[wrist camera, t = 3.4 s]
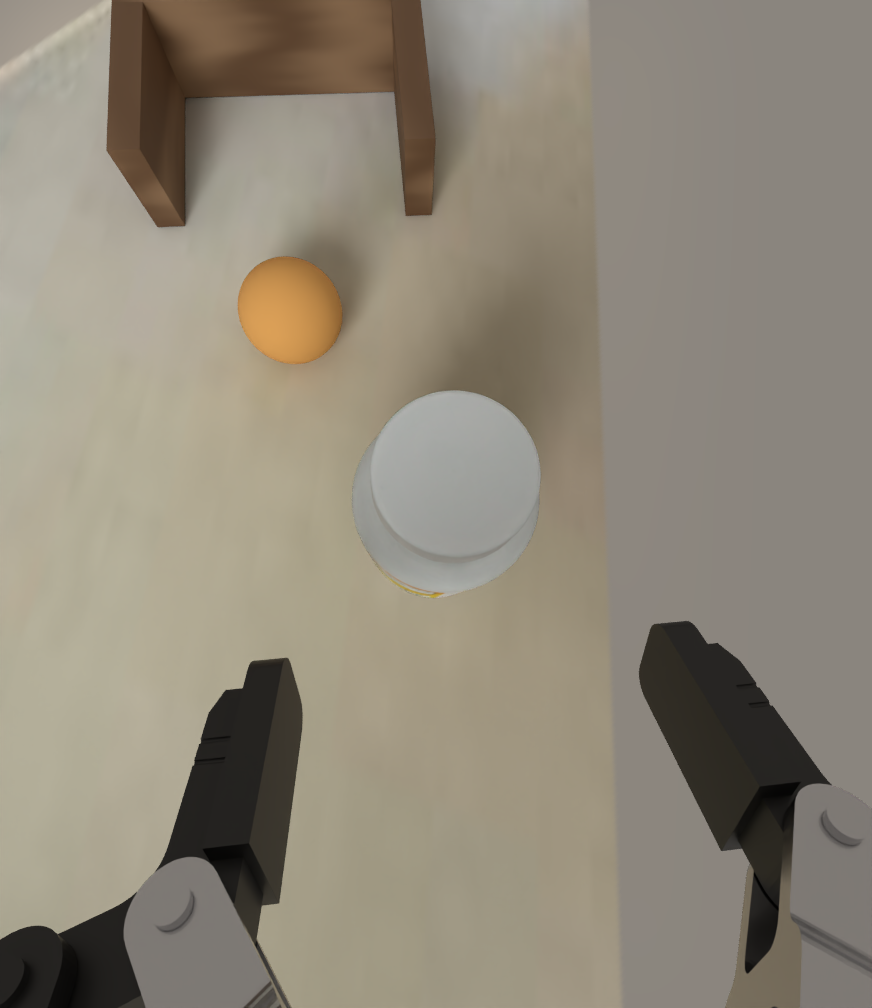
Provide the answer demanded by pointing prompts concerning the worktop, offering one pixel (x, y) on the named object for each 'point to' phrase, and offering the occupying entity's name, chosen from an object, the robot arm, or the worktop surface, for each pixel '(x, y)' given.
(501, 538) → the supplement bottle
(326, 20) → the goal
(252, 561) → the worktop surface
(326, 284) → the ball
